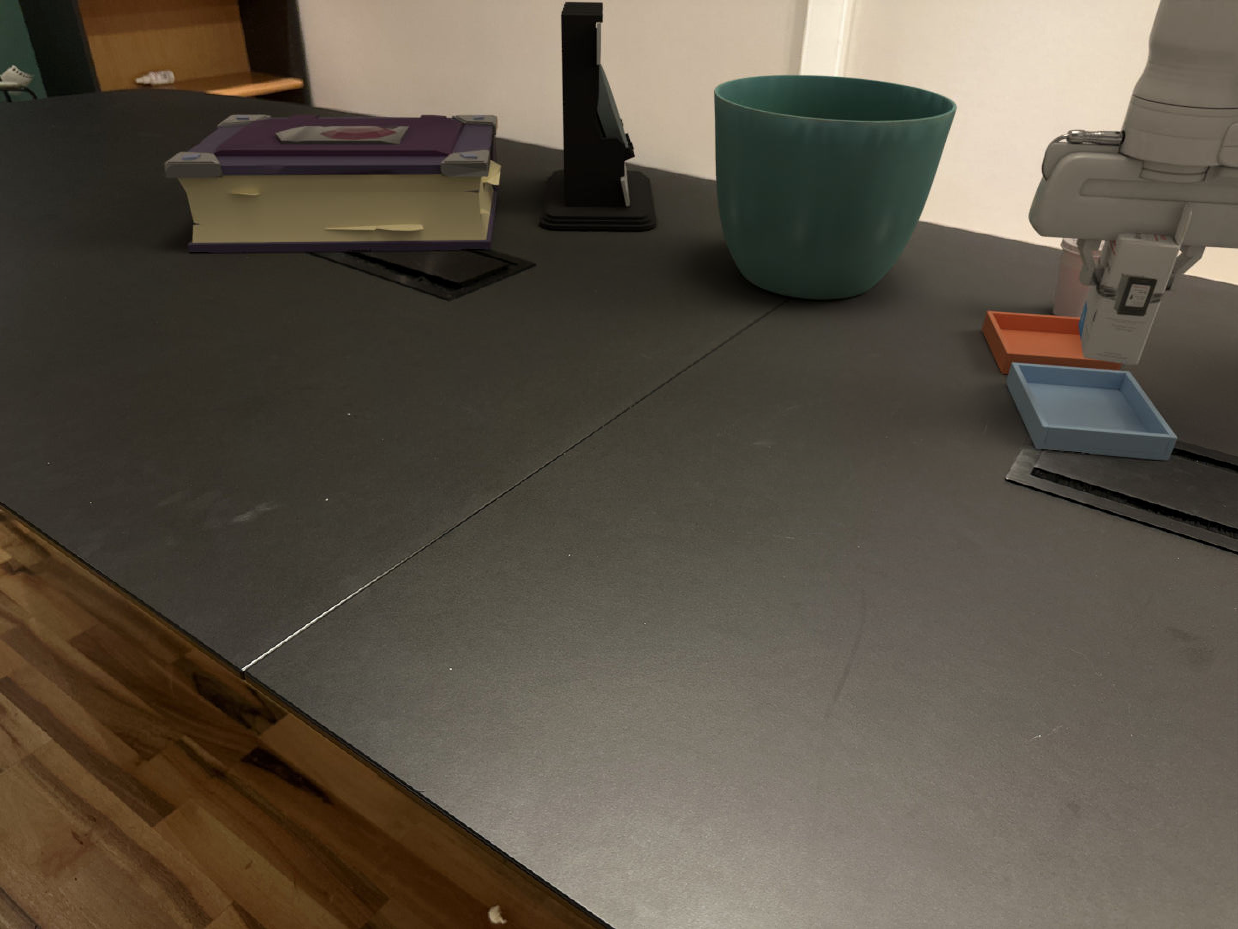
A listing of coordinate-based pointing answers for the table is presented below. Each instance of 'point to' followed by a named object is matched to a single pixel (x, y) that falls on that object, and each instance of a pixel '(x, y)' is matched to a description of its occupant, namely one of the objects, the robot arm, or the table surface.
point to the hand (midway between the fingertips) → (1126, 286)
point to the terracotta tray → (1037, 341)
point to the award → (593, 141)
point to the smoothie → (1071, 280)
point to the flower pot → (823, 177)
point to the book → (342, 184)
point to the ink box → (1128, 293)
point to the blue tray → (1089, 411)
